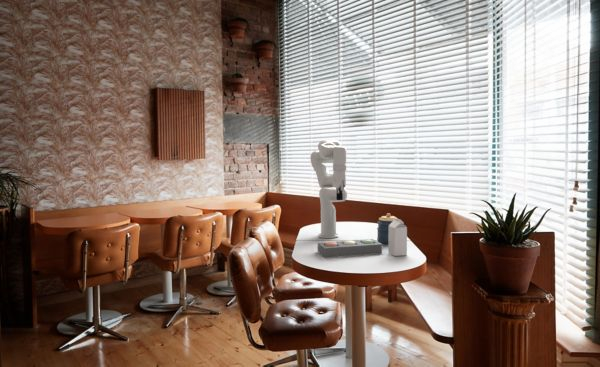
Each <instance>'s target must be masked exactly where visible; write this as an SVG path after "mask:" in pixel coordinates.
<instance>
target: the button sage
mask: <svg viewBox="0 0 600 367" xmlns="http://www.w3.org/2000/svg"><path fill="white" fill-rule="evenodd" d="M371 239H372V238H367V239H365V238H364V239H361V240H362V243H363V244H372V243H373V240H374V239H373V240H371Z"/></svg>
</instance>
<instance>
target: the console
mask: <svg viewBox="0 0 600 367" xmlns="http://www.w3.org/2000/svg"><path fill="white" fill-rule="evenodd" d="M370 239H371V240H373V243H372V244H363V243H362V240H363V239H354V240H349V241H355V245H344V241H345V240H339V241H336V240H335V242H336V243H337V246H330V247H326V246H325V243H326V242H327V241H325V242H323V241H322V242H317V252H318V254H320V255H321V256H322V257H323V258H324V259H325V258H327V259H328V258H337V257H338V258H339V257H340V256H341V257H352V256H364V255H365V254H367V255H376V254H378V255H379V254H380V255H381V254H383V244H381V243H379V242H378V241H377V240H375V239H373V238H370ZM365 256H366V255H365Z"/></svg>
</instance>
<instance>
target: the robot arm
mask: <svg viewBox="0 0 600 367" xmlns="http://www.w3.org/2000/svg"><path fill="white" fill-rule="evenodd" d="M317 148H318V150H314V151H312V152H311V154H310V164H311V166H312V169H313V170H314V172H315V174H316V178H317V182H318V185H319V187H320V190H319V191H318V192H319V193H318V194H319V195H318V196H319V200H320V201H319V203H320V233H318V237H319V238H320V239H321V238H322V239H336V238H338V237H339V234H338V233H337V216H336V215H337V213H336V212H337V210H336V207H335V205H334V204H333V203H336V202H337V203H339V202H345V201H346V200H347V199H348V192H347V188H346V180H347V178H346V171H347V147H346V146H344V145H341V142H340V141H339V140H336V139H325V140H321V141H319V142H318V145H317ZM325 164H332V172H333V174H332V173H330V169H328V167H327V166H326V165H325Z"/></svg>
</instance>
